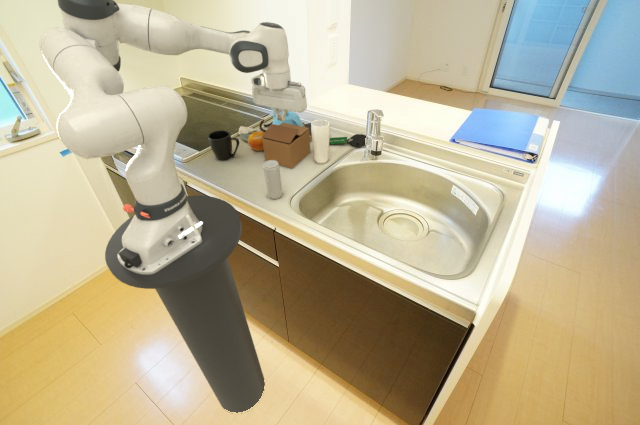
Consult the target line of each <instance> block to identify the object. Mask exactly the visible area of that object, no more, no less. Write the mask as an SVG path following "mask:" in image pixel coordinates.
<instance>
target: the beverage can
mask: <svg viewBox="0 0 640 425" xmlns="http://www.w3.org/2000/svg"><path fill="white" fill-rule="evenodd" d="M262 166H263V167H262V169H263V174H264V175H263V176H264V181H265V186H266V192H267V197H268V198H269V199H271V200H277V199H279V198H281V197H282V196H283V187H282V180H281V178H282V177H281V171H280V165H279V164H278V162H277V161H275V160H268V161H264V162H263V165H262Z"/></svg>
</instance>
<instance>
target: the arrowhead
mask: <svg viewBox="0 0 640 425" xmlns="http://www.w3.org/2000/svg"><path fill="white" fill-rule="evenodd" d="M254 132H257V129H256V128H252V127H248V126H243V125H240V127H239V128H238V135H240V133H244V134H252V133H254Z"/></svg>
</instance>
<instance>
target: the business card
mask: <svg viewBox="0 0 640 425" xmlns="http://www.w3.org/2000/svg"><path fill="white" fill-rule="evenodd" d="M347 139H348V136H340V137H339V136H338V137H330V139H329V145H339V144H342V145H343V144H347V142H346V141H347Z"/></svg>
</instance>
